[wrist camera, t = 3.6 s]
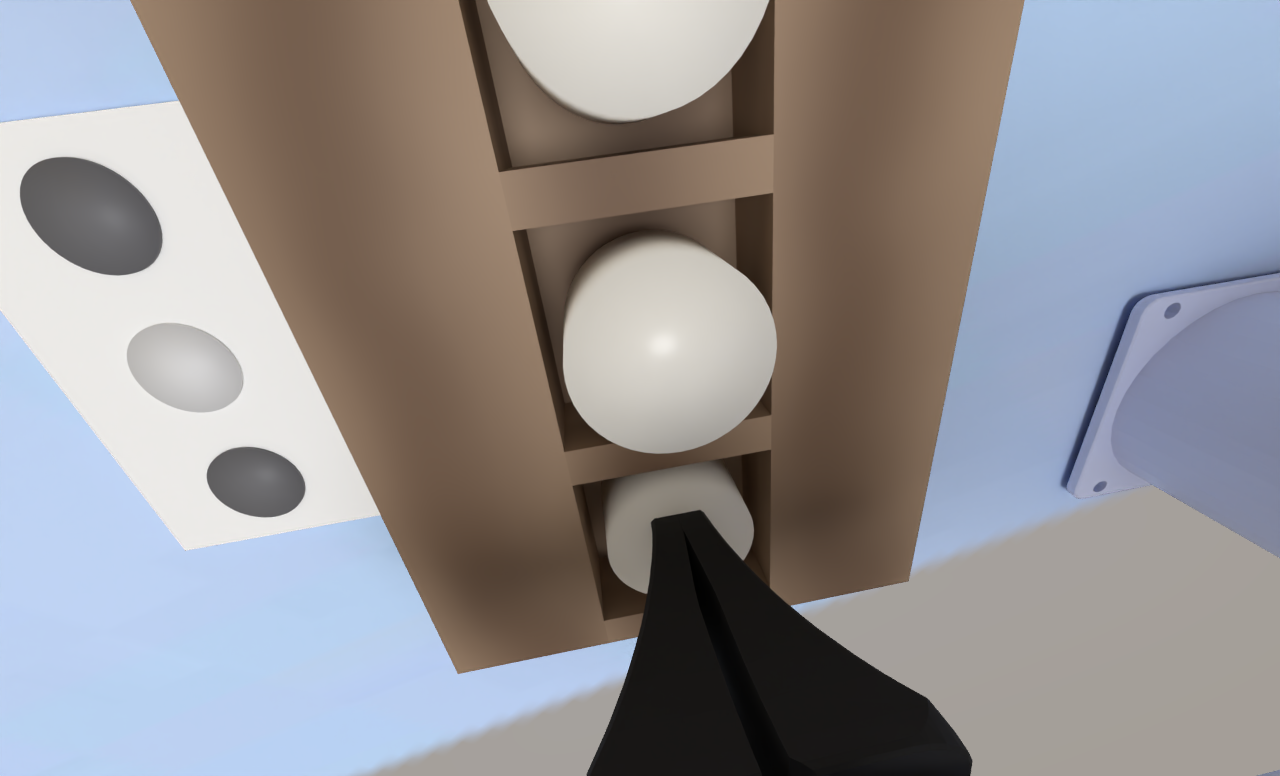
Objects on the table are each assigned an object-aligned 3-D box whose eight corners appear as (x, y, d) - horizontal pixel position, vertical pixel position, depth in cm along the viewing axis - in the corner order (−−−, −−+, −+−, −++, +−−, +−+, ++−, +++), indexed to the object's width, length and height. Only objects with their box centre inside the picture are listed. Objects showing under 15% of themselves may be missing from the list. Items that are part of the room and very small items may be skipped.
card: (202, 100, 10) (189, 98, 10) (392, 506, 15) (388, 515, 15) (-112, 139, 10) (-140, 138, 9) (192, 543, 15) (183, 553, 14)
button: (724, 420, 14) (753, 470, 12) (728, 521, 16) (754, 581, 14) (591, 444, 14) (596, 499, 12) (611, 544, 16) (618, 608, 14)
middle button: (732, 216, 10) (778, 236, 8) (737, 382, 12) (775, 434, 10) (547, 244, 10) (541, 272, 8) (581, 409, 12) (583, 469, 10)
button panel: (940, -248, 9) (1110, -428, 6) (854, 512, 18) (908, 581, 15) (168, -182, 8) (-44, -357, 5) (476, 585, 17) (458, 674, 14)
